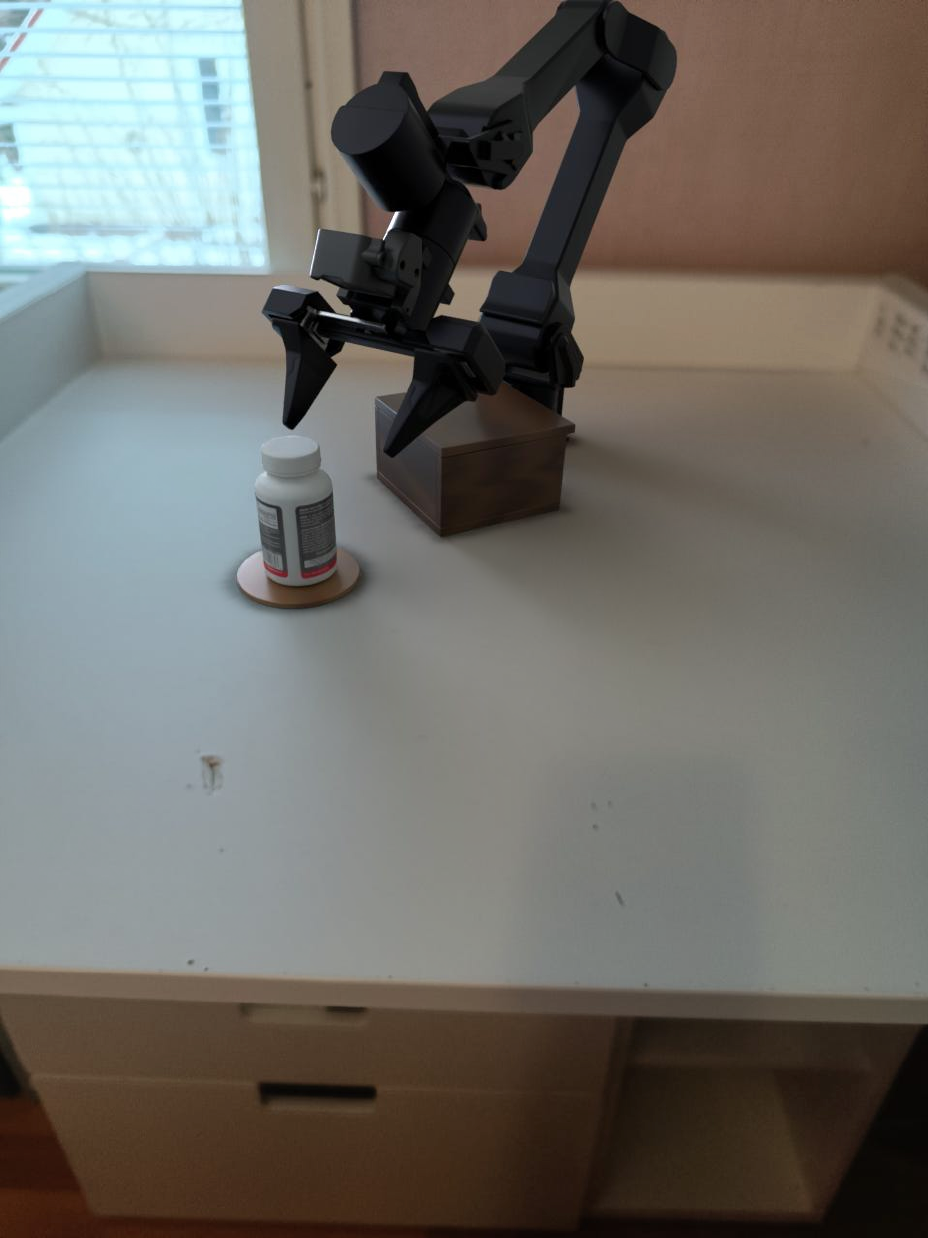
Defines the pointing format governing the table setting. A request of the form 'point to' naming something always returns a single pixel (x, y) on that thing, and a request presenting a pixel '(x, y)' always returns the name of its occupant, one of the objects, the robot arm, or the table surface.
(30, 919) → the table surface
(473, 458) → the chest
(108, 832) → the table surface
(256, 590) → the coaster
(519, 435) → the chest lid
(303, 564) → the pill bottle
